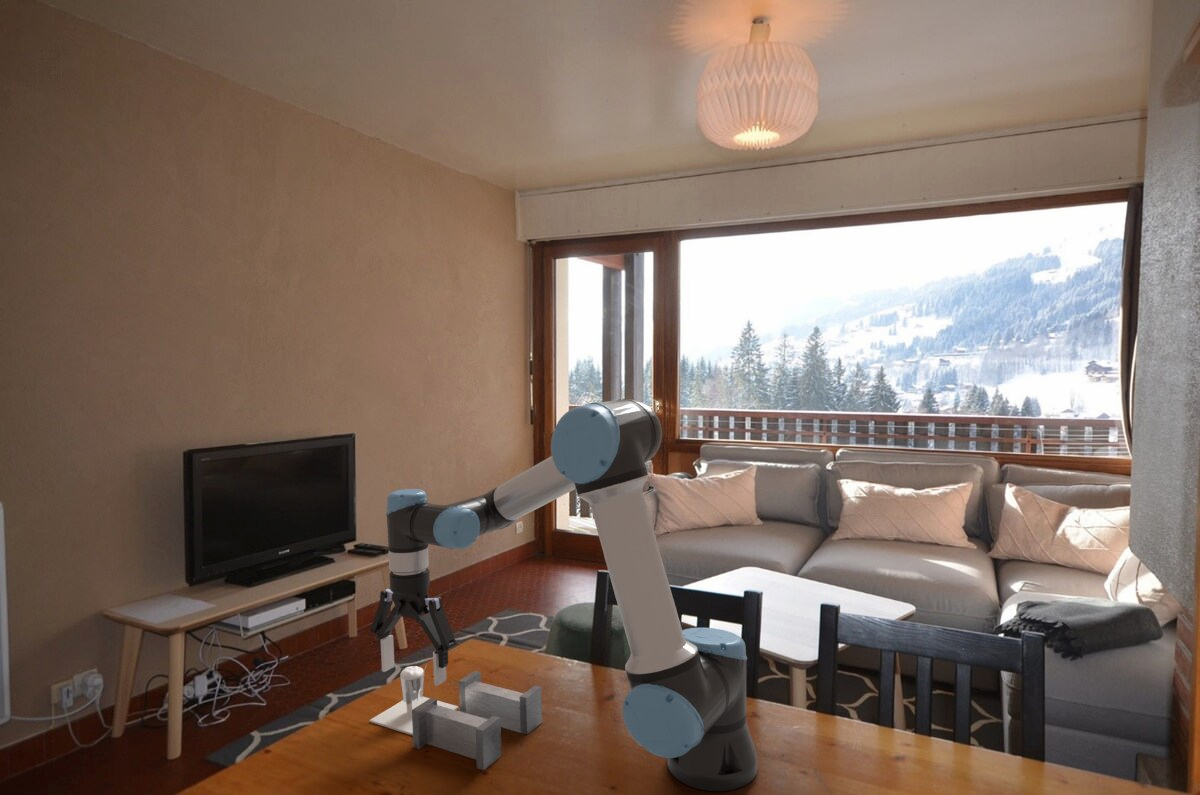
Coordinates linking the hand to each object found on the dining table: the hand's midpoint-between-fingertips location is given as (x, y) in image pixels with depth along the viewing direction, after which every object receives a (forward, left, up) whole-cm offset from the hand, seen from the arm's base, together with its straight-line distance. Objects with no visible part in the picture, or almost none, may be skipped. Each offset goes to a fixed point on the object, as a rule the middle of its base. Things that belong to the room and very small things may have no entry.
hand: (413, 675), depth 144 cm
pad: (0, 0, -8) cm, 8 cm away
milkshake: (0, 0, -8) cm, 8 cm away
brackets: (-16, 0, -8) cm, 18 cm away
